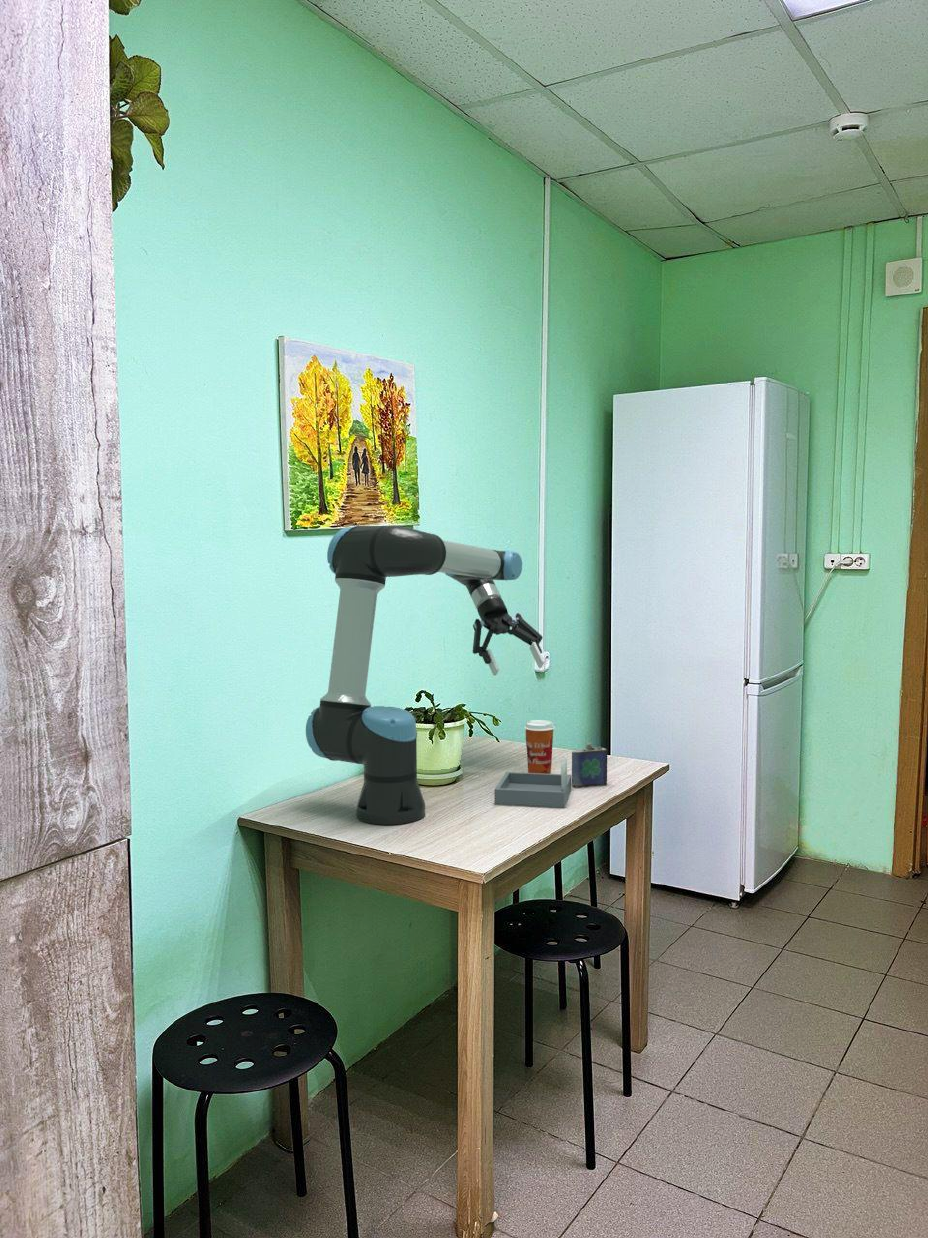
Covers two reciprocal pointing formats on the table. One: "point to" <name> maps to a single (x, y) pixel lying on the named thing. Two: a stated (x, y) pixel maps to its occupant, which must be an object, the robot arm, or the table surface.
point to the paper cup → (539, 745)
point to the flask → (589, 766)
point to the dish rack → (534, 788)
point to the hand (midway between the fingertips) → (519, 668)
